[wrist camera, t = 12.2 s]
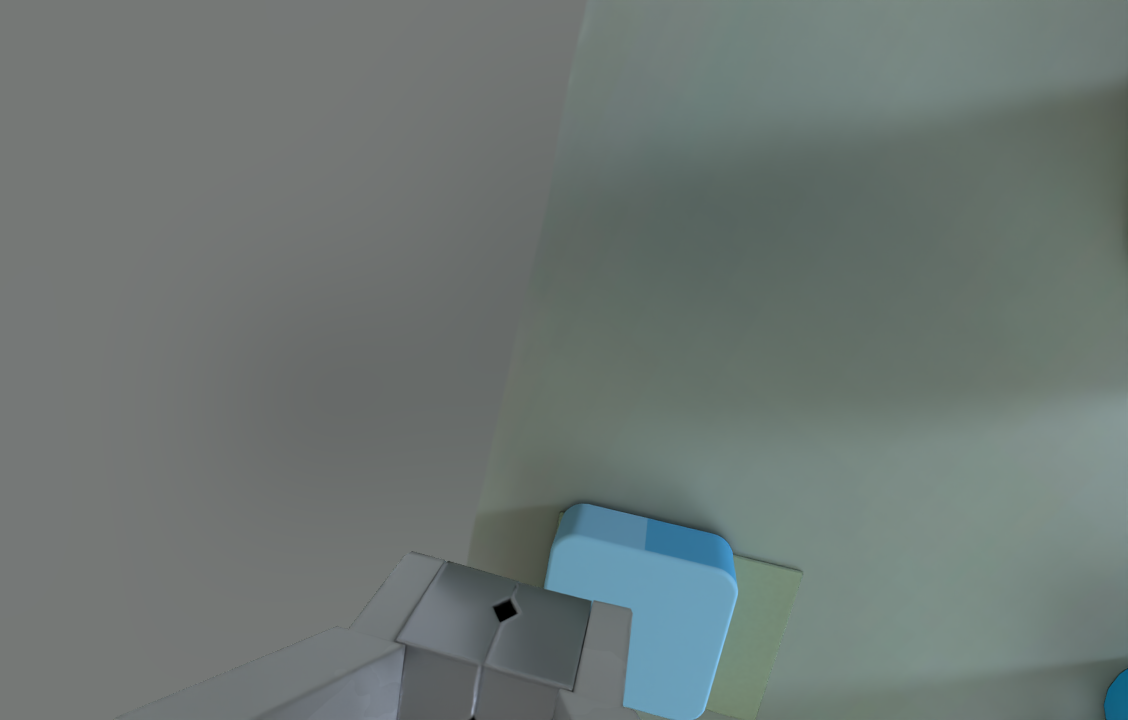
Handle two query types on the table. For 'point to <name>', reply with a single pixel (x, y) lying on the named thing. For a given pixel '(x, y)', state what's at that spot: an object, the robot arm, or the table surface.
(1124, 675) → the mug
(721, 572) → the data package
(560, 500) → the table surface
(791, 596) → the mat
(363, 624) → the robot arm
